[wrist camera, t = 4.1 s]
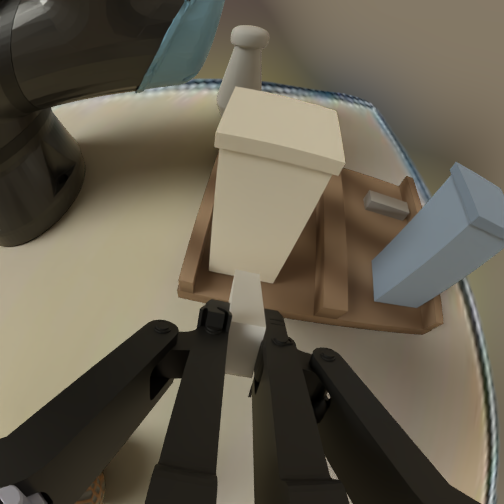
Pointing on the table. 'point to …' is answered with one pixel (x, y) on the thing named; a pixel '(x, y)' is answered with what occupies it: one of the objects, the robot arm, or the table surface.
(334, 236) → the wooden divided tray
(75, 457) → the robot arm
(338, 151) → the cream tall block
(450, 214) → the blue-grey rectangular block
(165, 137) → the table surface
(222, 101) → the salt shaker
